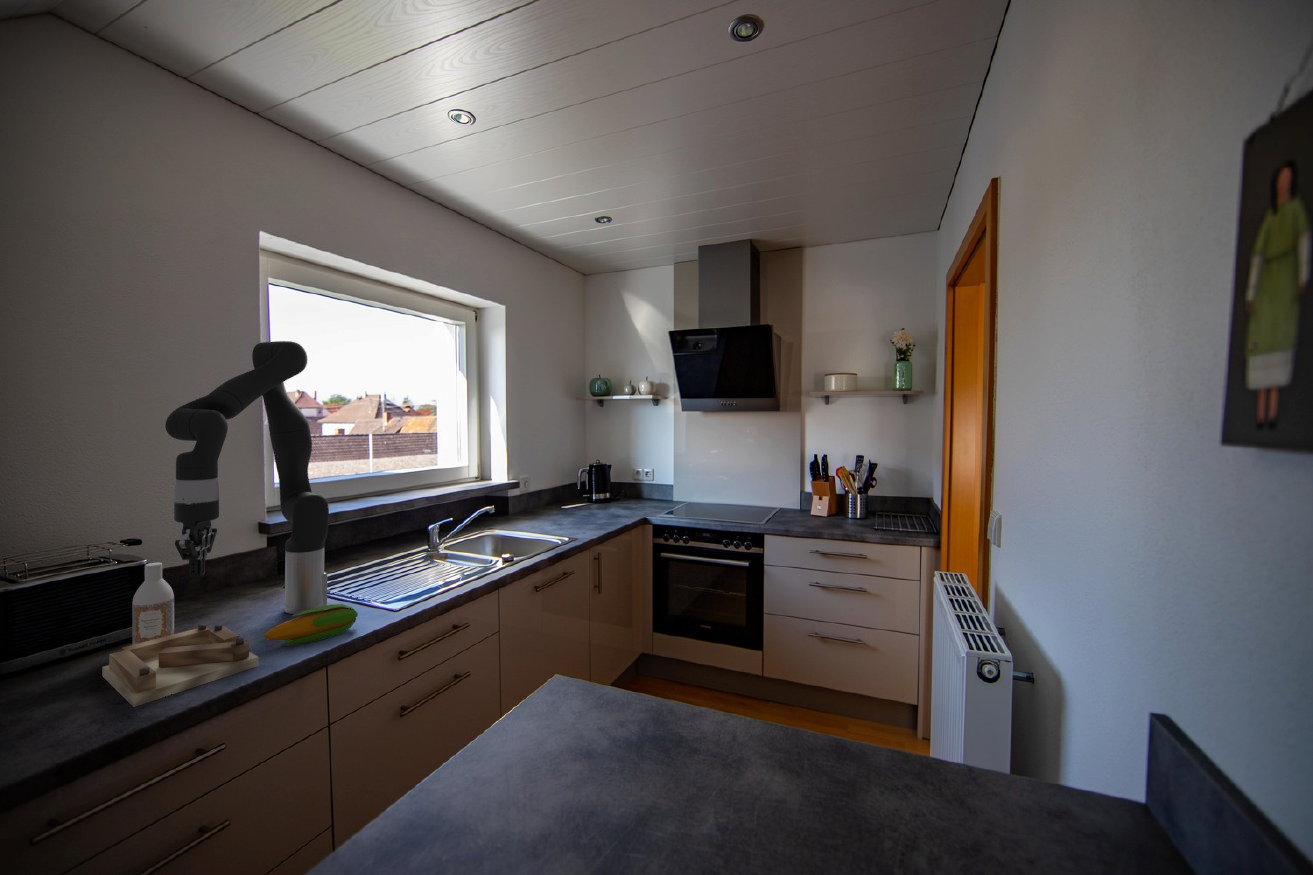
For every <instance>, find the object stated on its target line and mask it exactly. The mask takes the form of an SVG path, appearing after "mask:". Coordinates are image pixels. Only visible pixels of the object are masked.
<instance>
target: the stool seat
mask: <svg viewBox="0 0 1313 875" xmlns="http://www.w3.org/2000/svg"><path fill="white" fill-rule="evenodd" d="M197 627H198V628H194V629H190V630H185V631H180V632H178V633H174V634H173V635H169V636H165V637H162V638H158V639H154V640H150V641H146V642H142V643H138V644H134V645H133V644H130V645H128V646H127V645H126V646H124V647H122V650H119V651H118V652H117V651H116V652H113V653H109V655H108V656H109V658H108V661H109V662H108V665H103V666H102V670H101V671H102V674H101V675H102V677H103V678H104V679H105V680H106V682H108V683H109V684H110V685H111V687H113V688H114V689H115V690H116V691H117V693H119V694H120V696H122V697H123V698H124V699H125V700H126V701H127V702H128V703H129V704H130V705H131V706H132V707H133V708H135V707H138V706H141V705H144V704H147V703H150V702H153V701H156V700H159V699H162V698H165V696H166V697H169V696H171V694H172V695H174V694H177V693H180V692H184V691H186V690H189V689H192V688H195V687H199V686H202V685H205V684H207V683H211V682H213V681H217V680H220V679H223V678H226V677H229V676H232V675H236V674H239V673H241V672H245V671H248V670H251V669H254V668H256V667H259V656H258V655H256V654H254V653H252V652H251V651H249V657H247V658H245V659H243V660H238V661H224V662H213V663H202V664H192V665H181V666H170V667H160V668H159V653H160V652H161V651H163V650H164V649H165V648H169V647H180V646H192V645H204V644H216V643H228V642H236V639H237V638H240V635H239V634H238V633H236V632H234V631H233V630H231V629H229V628H227V627H226V626H223V624H222V623H219V624H215V625H214V628H213V629H210V628H209V627H207V624H206V623H201V624H198V626H197Z"/></svg>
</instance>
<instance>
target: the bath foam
mask: <svg viewBox="0 0 1313 875" xmlns="http://www.w3.org/2000/svg"><path fill="white" fill-rule="evenodd" d="M174 594H175V593H174V591H173V589H172V587H171V586H170V584H169V583H168V582H167V581H166V580H164V578H163V563H162V562H151V563H146V564H145V565H144V581H143V582H142V583H141V585H140V586H139V587H138V588H137V589H136V592H135V594H134V595H133V598H132V604H131V605H132V607H131V609H132V612H131V613H132V620H131V621H132V624H131V626H132V629H131V631H132V633H131V634H132V645H134V644H138V643H142V642H146V641H150V640H154V639H158V638H162V637H165V636H169V635H173V634H175V595H174Z"/></svg>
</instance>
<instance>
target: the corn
mask: <svg viewBox="0 0 1313 875" xmlns="http://www.w3.org/2000/svg"><path fill="white" fill-rule="evenodd" d="M358 615H359V614H358V612H357V611H356V610H355V609H354V608H353V607H351V606H350V605H349V606H348V605H346V604H344V603H336V604H335V603H333V604H327V606H323V607H318V608H314V609H310V610H306V611H302V612H300V613H297V614H291V616H292V617H296V618H292V619H290V620H287V621H284V622H282V623H280V624H277V625H276V626H274V627H272V628H270V629H269V630H267V632H265V633H264V634H263V637H264V638H265V640H267V641H273V642H275V641H285V642H284V643H282V645H281V646H282V647H285V646H297V645H299V646H300V645H303V644H308V643H312V642H317V641H321V640H324V639H328V638H331V637H334V636H340V635H342V634H343V633H345V632H346V631H347V630H349V629H350V628H351V627H352V626H353V625H354V624H355V623H356V620H357V617H358ZM297 616H298V617H297Z"/></svg>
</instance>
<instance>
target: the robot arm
mask: <svg viewBox="0 0 1313 875" xmlns="http://www.w3.org/2000/svg"><path fill="white" fill-rule="evenodd" d="M251 357H252V365H253V369H251V370H248V371H246V372H243V373H241V374H239V375H237V376H234V377H232V378H230V379H228V380H226V381H224V382H223V383H222V384H220V385H219V386H218V387H216V388H214V389H213V390H212V391H211V392H210V393H209V394H207V395H205V396H202V397H199V398H196V399H195V400H191V401H190V402H188V403H185V404H183V405H181V406H179V407H177V408H176V409H175V410H173V411H172V412H170V414H169V415H168V417H167V418H166V419H165V420H166V421H165V425H164V426H165V431H166V432H167V434H168V435H169V436H170V437H171V438H173V439H174V440H175V439H176V440H178V441H186V442H187V441H188V442H190V441H191V442H192V441H193V442H195V444H194V447H193V449H192V450H190V451H186V452H181V453H179V454H178V455H176V459H175V482H174V483H175V484H174V490H173V497H174V498H173V502H174V503H173V505H174V506H173V514H174V515H173V516H174V517H173V519H174V521H175V522H176V523H180V524H182V530H181V538H180V539H176V540H175V542H174V546H175V548H176V549H177V552H178V554H179V556H180V558H181V560H182V561H188V577H189V578H200V577H201V576H203V575H205V573H206V558H207V557H208V554H209V553H211V551H212V549H213V546H214V542H215V539H216V535H217V533H218V528H216V527H215V528H213V527H212V522H211V521H215V520H217V519H219V517H220V486H219V479H218V477H219V472H218V471H219V469H218V468H219V467H218V466H219V464H218V463H219V457H220V455H221V452H222V449H223V447H224V443H225V440H226V438H227V435H228V421H227V420H230V419H233V418H235V417H236V416H238V415H239V414H241V412H243V411H244V410H245V409H246V408H247V407H249V406H250V405H251V404H252V403H253V402H255V401H257V399H259V398H260V397H261V396H262V400H263V404H264V410H265V414H266V419H267V423H268V424H267V425H268V432H269V437H270V443H271V447H272V452H273V457H274V462H275V467H276V472H277V475H278V477H277V478H278V484H279V486H278V487H279V503H280V511H281V512H280V513H281V514H282V516H283V518H285V520H286V521H288V522H289V523H291V535H290V537H289V538H288V539H286V541H285V544H284V545H285V546H284V547H285V549H284V550H285V558H284V559H285V561H284V562H285V563H284V564H285V566H284V567H285V568H284V571H285V572H284V575H285V576H284V578H285V579H284V612H285V613H286V614H289V615H290V614H291V615H294V614H297V613H300V612H302V611H306V610H310V609H314V608H318V607H323V606H327V605H328V573H327V572H325V544H326V540H327V537H328V532H329V522H330V521H329V519H330V518H329V516H330V509H329V504H328V501H327V500H326V498H325V497H323V495H320V494H317V493H314V492H313V491H312V487H311V484H310V478H309V466H310V465H309V464H310V461H311V460H310V459H311V457H312V450H313V440H312V433H311V427H310V423H309V421H308V419H307V417H306V415H305V414H304V413H303V411H301V409H300V408H299V407H298V406H297V405H296V404H295V402H294V401H293V400H292V399H291V398H290V395H289V394H288V392H287V390H286V387H285V384H284V383H285V382H286V381H288V380H290V379H291V378H294V377H295V376H296V377H297V375H299V374H301V373H302V372H303V371H304V370H305V369H306V367H307V365H308V354H307V352H306V350H305V347H303V346H302V345H301V344H300V343H298V342H296V341H291V340H278V341H277V340H275V341H262V342H258V343H257V344H255V345H254V347H253V350H252V354H251Z"/></svg>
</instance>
